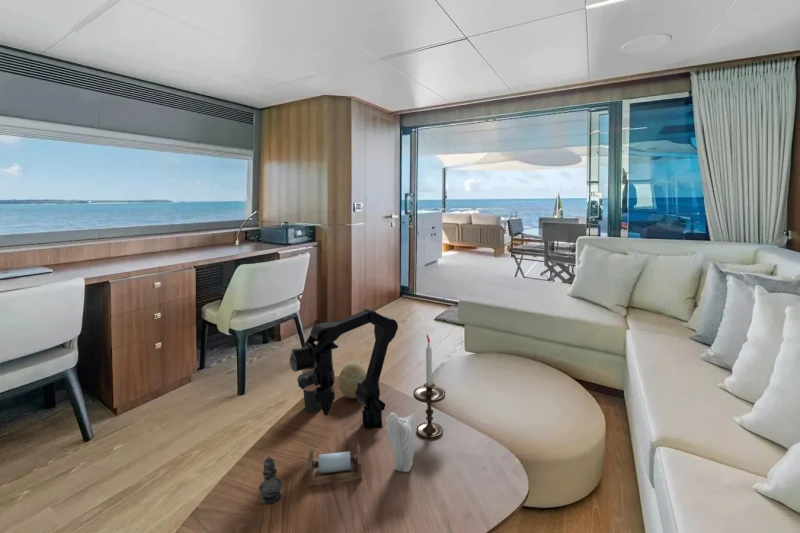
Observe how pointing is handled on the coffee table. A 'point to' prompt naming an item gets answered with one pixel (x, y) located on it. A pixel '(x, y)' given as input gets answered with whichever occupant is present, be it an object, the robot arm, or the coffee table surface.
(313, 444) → the coffee table surface
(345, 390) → the fossilized egg
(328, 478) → the holder
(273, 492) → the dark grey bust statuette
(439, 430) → the candlestick
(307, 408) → the travel mug
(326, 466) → the roll
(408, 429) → the white angel figurine
